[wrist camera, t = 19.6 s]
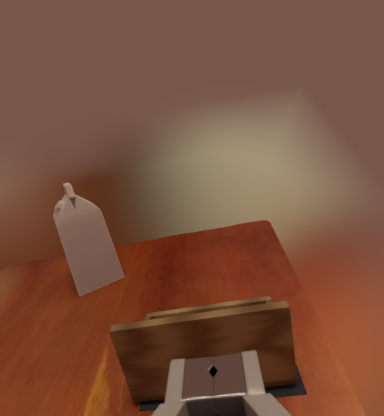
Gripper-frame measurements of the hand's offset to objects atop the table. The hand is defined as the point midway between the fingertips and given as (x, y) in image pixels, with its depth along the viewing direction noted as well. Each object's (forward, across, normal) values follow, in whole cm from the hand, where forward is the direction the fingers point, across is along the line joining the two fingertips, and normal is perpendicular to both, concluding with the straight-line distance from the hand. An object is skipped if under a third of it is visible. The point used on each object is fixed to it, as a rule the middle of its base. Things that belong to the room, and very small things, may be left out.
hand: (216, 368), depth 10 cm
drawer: (+28, +4, +27) cm, 39 cm away
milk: (+58, +34, +27) cm, 72 cm away
